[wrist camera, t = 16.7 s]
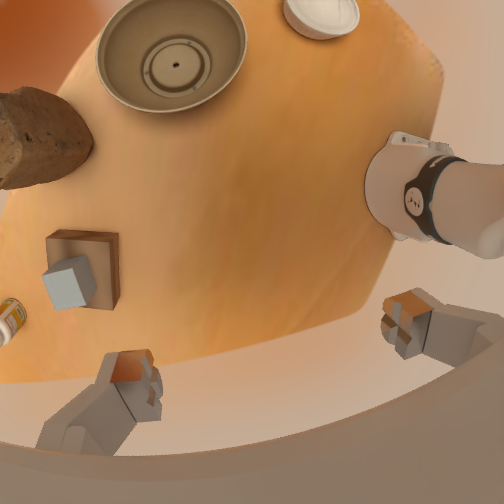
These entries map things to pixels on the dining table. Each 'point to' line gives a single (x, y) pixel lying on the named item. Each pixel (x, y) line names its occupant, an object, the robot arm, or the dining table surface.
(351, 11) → the ramekin
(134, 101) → the planter bowl
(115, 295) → the walnut block
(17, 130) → the brown rounded block
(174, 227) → the dining table surface
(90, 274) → the slate cube
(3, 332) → the supplement bottle
